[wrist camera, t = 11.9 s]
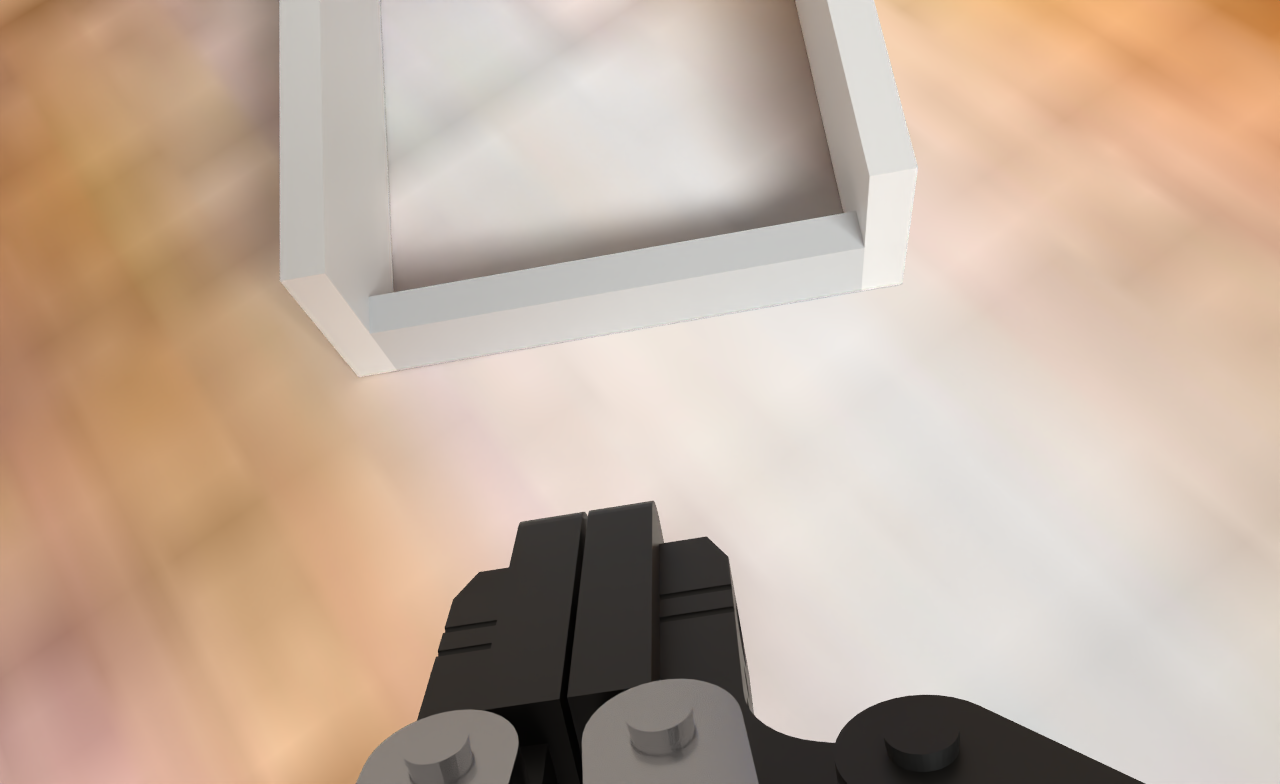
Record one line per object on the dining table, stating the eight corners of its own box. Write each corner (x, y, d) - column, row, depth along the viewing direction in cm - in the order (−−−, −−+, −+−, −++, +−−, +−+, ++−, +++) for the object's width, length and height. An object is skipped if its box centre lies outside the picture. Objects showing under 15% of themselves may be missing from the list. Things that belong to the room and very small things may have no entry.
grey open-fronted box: (811, -89, 42) (810, -241, 37) (902, 284, 36) (918, 167, 30) (346, 1, 43) (279, -134, 38) (358, 377, 37) (279, 281, 32)
